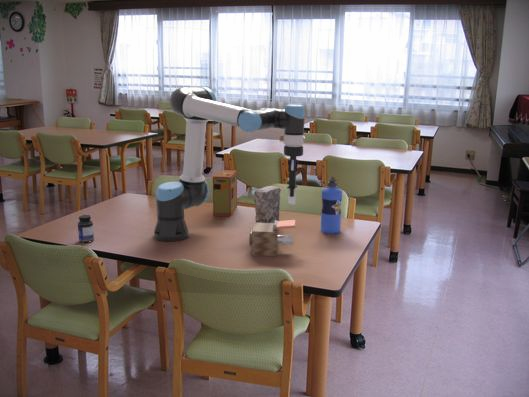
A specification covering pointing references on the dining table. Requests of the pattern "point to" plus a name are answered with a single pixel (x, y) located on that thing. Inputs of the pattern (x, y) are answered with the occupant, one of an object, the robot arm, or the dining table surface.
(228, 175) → the box
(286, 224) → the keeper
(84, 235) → the pill bottle
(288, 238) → the pin
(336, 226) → the water bottle
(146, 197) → the dining table surface
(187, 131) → the robot arm
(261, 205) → the stone block
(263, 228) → the block
